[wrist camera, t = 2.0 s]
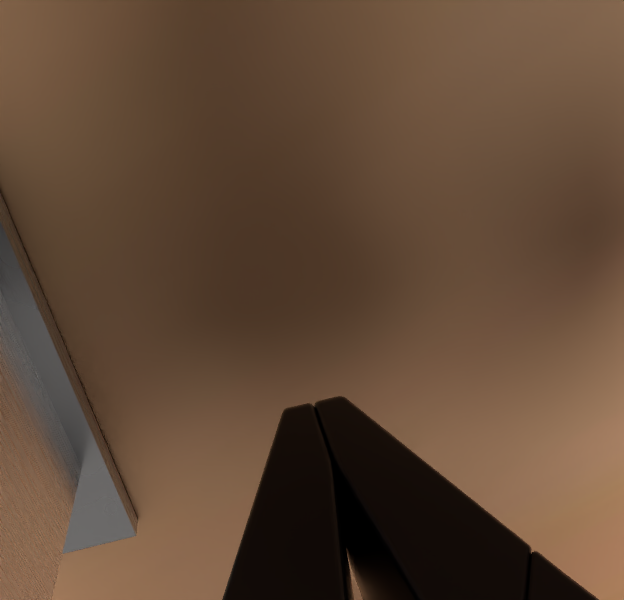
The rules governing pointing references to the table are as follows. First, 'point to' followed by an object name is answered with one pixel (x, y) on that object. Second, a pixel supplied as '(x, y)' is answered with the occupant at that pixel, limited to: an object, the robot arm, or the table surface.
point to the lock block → (30, 474)
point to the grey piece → (65, 402)
